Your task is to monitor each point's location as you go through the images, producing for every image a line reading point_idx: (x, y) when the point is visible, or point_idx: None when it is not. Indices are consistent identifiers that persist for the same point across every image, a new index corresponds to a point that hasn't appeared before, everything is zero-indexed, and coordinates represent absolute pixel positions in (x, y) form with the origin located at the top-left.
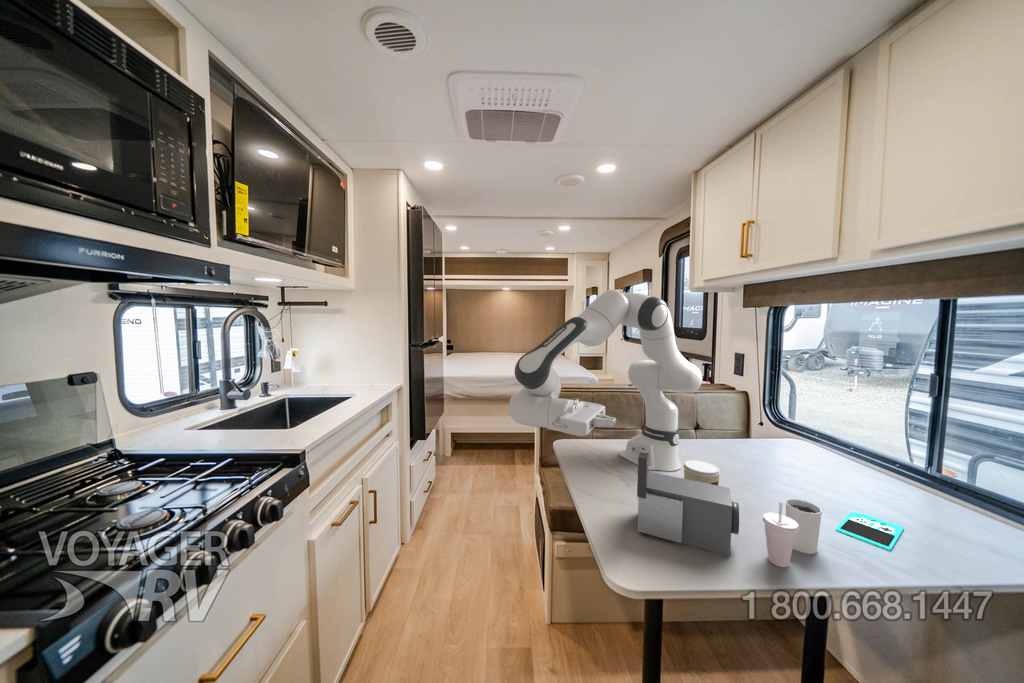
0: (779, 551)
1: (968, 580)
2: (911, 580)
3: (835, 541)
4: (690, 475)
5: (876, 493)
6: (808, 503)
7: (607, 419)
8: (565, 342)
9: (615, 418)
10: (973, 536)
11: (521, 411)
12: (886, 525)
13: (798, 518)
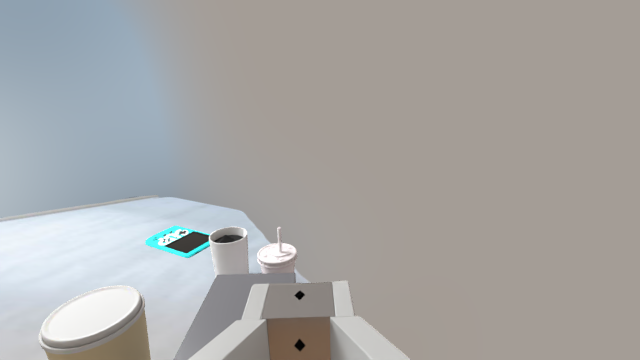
0: None
1: (248, 221)
2: (263, 239)
3: (212, 261)
4: (115, 343)
5: (96, 225)
6: (216, 232)
7: (351, 309)
8: None
9: (260, 284)
10: (181, 208)
11: None
12: (173, 231)
13: (243, 248)
